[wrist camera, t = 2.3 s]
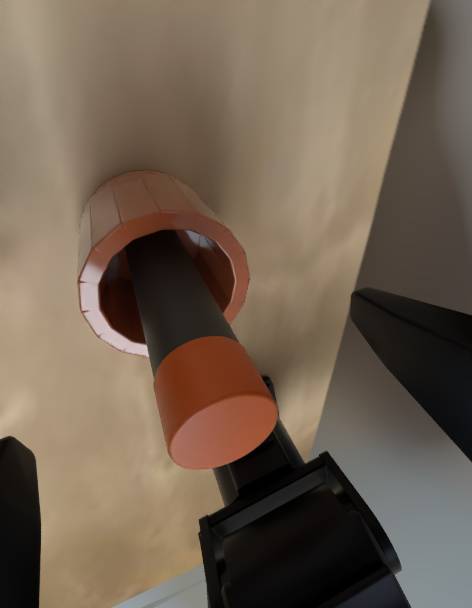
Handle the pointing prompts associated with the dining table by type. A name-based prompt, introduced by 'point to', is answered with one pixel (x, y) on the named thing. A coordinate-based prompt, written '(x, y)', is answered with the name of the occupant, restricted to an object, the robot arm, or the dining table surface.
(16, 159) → the dining table surface
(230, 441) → the marker
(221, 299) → the pen cup
